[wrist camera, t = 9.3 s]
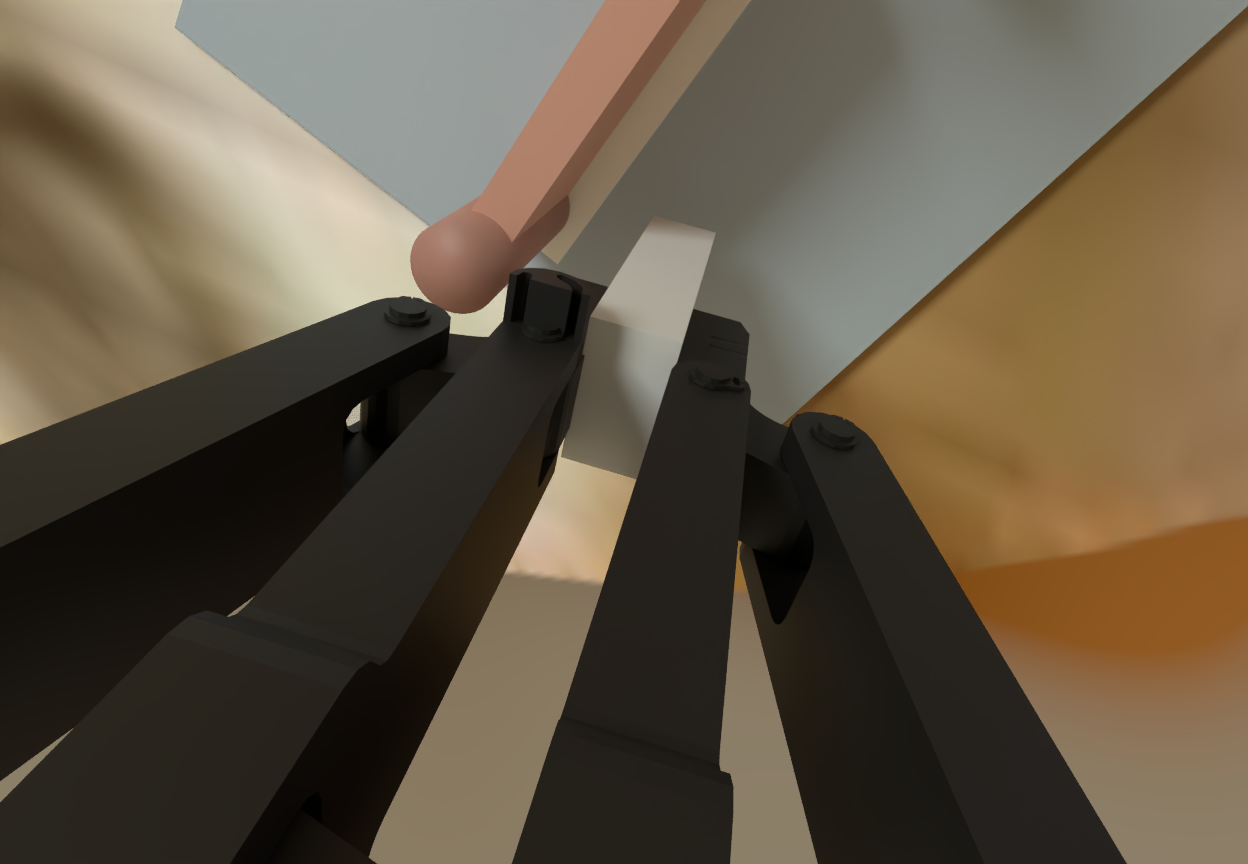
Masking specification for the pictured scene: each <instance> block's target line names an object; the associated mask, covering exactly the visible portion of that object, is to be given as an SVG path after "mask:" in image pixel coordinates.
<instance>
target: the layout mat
mask: <svg viewBox="0 0 1248 864" xmlns="http://www.w3.org/2000/svg"><path fill="white" fill-rule="evenodd" d="M604 1H605V0H183V1H182V5H181V8H180V11H179V15H178V18H177V21H176V25H175V28H176V29H177V30H178V31H180V32H181V33H182V34H184V35H185V36H186V37H187V38H189V39H190V40H191V41H193V42H194V43H195V44H196V45H198V46H199V47H200V48H202V49H203V50H204V51H205V52H207V53H208V54H209V55H211V56H212V57H213V58H214V59H216V60H217V61H218V62H220V63H221V64H222V65H223V66H225V67H226V68H227V69H229V70H230V71H231V72H232V73H234V74H235V75H236V76H238V77H239V78H240V79H241V80H243V81H244V82H245V83H247V84H248V85H249V86H250V87H252V88H253V89H254V90H256V91H257V92H258V93H259V94H261V95H262V96H263V97H265V98H266V99H267V100H268V101H270V102H271V103H272V104H274V105H275V106H276V107H277V108H279V109H280V110H281V111H283V112H284V113H285V114H286V115H288V116H289V117H290V118H292V119H293V120H294V121H296V122H297V123H298V124H299V125H301V126H302V127H303V128H305V129H306V130H307V131H308V132H310V133H311V134H312V135H314V136H315V137H316V138H317V139H319V140H320V141H321V142H323V143H324V144H325V145H326V146H328V147H329V148H330V149H332V150H333V151H334V152H335V153H337V154H338V155H339V156H341V157H342V158H343V159H344V160H346V161H347V162H348V163H350V164H351V165H352V166H353V167H355V168H356V169H357V170H359V171H360V172H361V173H362V174H364V175H365V176H366V177H368V178H369V179H370V180H371V181H373V182H374V183H375V184H377V185H378V186H379V187H380V188H382V189H383V190H384V191H386V192H387V193H388V194H389V195H391V196H392V197H393V198H395V199H396V200H397V201H398V202H400V203H401V204H402V205H404V206H405V207H406V208H407V209H409V210H410V211H411V212H413V213H414V214H415V215H416V216H418V217H419V218H420V219H422V220H423V221H424V222H425V223H427V224H428V225H429V226H432V225H433V224H435V223H436V222H438V221H440V220H441V219H443V218H445V217H446V216H448V215H449V214H451V213H453V212H454V211H456V210H458V209H459V208H461V207H462V206H464V205H466V204H467V203H469V202H471V201H472V200H474V199H475V198H477V197H479V196H480V195H482V193H483V191H484V190H485V188H486V187H487V185H488V184H489V182H490V180H491V179H492V177H493V176H494V174H495V173H496V171H497V169H498V168H499V166H500V165H501V163H502V162H503V160H504V158H505V157H506V155H507V154H508V152H509V151H510V149H511V147H512V146H513V144H514V143H515V141H516V140H517V138H518V136H519V135H520V133H521V132H522V130H523V129H524V127H525V125H526V124H527V122H528V121H529V119H530V118H531V116H532V114H533V113H534V111H535V110H536V108H537V107H538V105H539V103H540V102H541V100H542V99H543V97H544V96H545V94H546V92H547V91H548V89H549V88H550V86H551V85H552V83H553V81H554V80H555V78H556V77H557V75H558V74H559V72H560V70H561V69H562V67H563V66H564V64H565V63H566V61H567V59H568V58H569V56H570V55H571V53H572V52H573V50H574V48H575V47H576V45H577V44H578V42H579V41H580V39H581V37H582V36H583V34H584V33H585V31H586V30H587V28H588V26H589V25H590V23H591V22H592V20H593V19H594V17H595V15H596V14H597V12H598V11H599V9H600V8H601V6H602V4H603V3H604ZM1247 6H1248V0H706V2H705V3H704V4H703V6H702V7H701V9H700V10H699V11H698V13H697V14H696V16H695V17H694V18H693V20H692V21H691V23H690V24H689V25H688V27H687V28H686V30H685V31H684V32H683V34H682V35H681V37H680V38H679V39H678V41H677V42H676V44H675V45H674V46H673V48H672V49H671V51H670V52H669V53H668V55H667V56H666V58H665V59H664V60H663V62H662V63H661V65H660V66H659V67H658V69H657V70H656V72H655V73H654V74H653V76H652V77H651V79H650V80H649V81H648V83H647V84H646V86H645V87H644V88H643V90H642V91H641V93H640V94H639V95H638V97H637V98H636V100H635V101H634V102H633V104H632V105H631V107H630V108H629V109H628V111H627V112H626V114H625V115H624V116H623V118H622V119H621V121H620V122H619V123H618V125H617V126H616V128H615V129H614V131H613V132H612V133H611V135H610V136H609V138H608V139H607V140H606V142H605V143H604V145H603V146H602V147H601V149H600V150H599V152H598V153H597V154H596V156H595V157H594V159H593V160H592V161H591V163H590V164H589V166H588V167H587V168H586V170H585V171H584V173H583V174H582V175H581V177H580V178H579V180H578V181H577V182H576V184H575V185H574V187H573V188H572V189H571V191H570V192H569V194H568V197H569V202H570V213H569V217H568V220H567V223H566V224H565V226H564V228H563V229H562V230H561V231H560V232H559V233H558V234H557V235H556V236H555V237H554V238H553V239H552V240H551V241H550V242H549V243H548V244H547V245H546V246H545V247H544V248H543V249H542V250H541V251H540V252H539V253H538V254H537V255H536V256H535V257H534V258H533V259H532V260H531V261H530V262H529V263H528V264H527V265H526V266H525V267H524V268H545V269H550V270H555V271H560V272H563V273H566V274H568V275H571V276H574V277H576V278H579V279H582V280H586V281H590V282H593V283H597V284H600V285H604V286H607V287H609V286H610V284H611V283H612V281H613V280H614V278H615V276H616V275H617V273H618V272H619V270H620V269H621V267H622V265H623V264H624V262H625V261H626V259H627V258H628V256H629V254H630V253H631V251H632V250H633V248H634V247H635V245H636V243H637V242H638V240H639V239H640V237H641V236H642V234H643V232H644V231H645V229H646V228H647V226H648V225H649V223H650V221H651V220H652V218H653V217H654V216H658V217H661V218H665V219H668V220H672V221H676V222H679V223H683V224H687V225H690V226H694V227H697V228H701V229H705V230H708V231H712V232H715V233H716V234H715V238H714V241H713V244H712V248H711V251H710V255H709V258H708V262H707V265H706V269H705V272H704V275H703V279H702V282H701V286H700V289H699V293H698V296H697V299H696V303H695V306H694V309H696V310H699V311H703V312H707V313H710V314H714V315H717V316H721V317H724V318H728V319H731V320H735V321H738V322H741V323H742V325H743V326H744V328H745V329H746V330H747V332H748V333H749V335H750V336H749V346H748V355H747V366H746V376H745V380H746V381H747V382H748V383H749V386H750V389H751V399H750V404H751V405H752V406H753V407H754V408H755V409H756V410H758V411H759V412H760V413H762V414H763V415H764V416H766V417H768V418H770V419H772V420H774V421H775V422H778V423H780V424H783V423H784V422H785V421H786V420H788V419H789V418H790V417H791V416H792V415H793V414H794V413H795V412H796V411H798V410H799V409H800V408H801V407H802V406H803V405H804V404H805V403H806V402H808V401H809V400H810V399H811V398H812V397H813V396H814V395H815V394H817V393H818V392H819V391H820V390H821V389H822V388H823V387H824V386H825V385H827V384H828V383H829V382H830V381H831V380H832V379H833V378H834V377H835V376H837V375H838V374H839V373H840V372H841V371H842V370H843V369H844V368H845V367H847V366H848V365H849V364H850V363H851V362H852V361H853V360H854V359H855V358H857V357H858V356H859V355H860V354H861V353H862V352H863V351H864V350H865V349H867V348H868V347H869V346H870V345H871V344H872V343H873V342H874V341H875V340H877V339H878V338H879V337H880V336H881V335H882V334H883V333H884V332H885V331H887V330H888V329H889V328H890V327H891V326H892V325H893V324H894V323H896V322H897V321H898V320H899V319H900V318H901V317H902V316H903V315H904V314H906V313H907V312H908V311H909V310H910V309H911V308H912V307H913V306H914V305H916V304H917V303H918V302H919V301H920V300H921V299H922V298H923V297H924V296H926V295H927V294H928V293H929V292H930V291H931V290H932V289H933V288H934V287H936V286H937V285H938V284H939V283H940V282H941V281H942V280H943V279H944V278H946V277H947V276H948V275H949V274H950V273H951V272H952V271H953V270H954V269H956V268H957V267H958V266H959V265H960V264H961V263H962V262H963V261H964V260H966V259H967V258H968V257H969V256H970V255H971V254H972V253H973V252H975V251H976V250H977V249H978V248H979V247H980V246H981V245H982V244H983V243H985V242H986V241H987V240H988V239H989V238H990V237H991V236H992V235H993V234H995V233H996V232H997V231H998V230H999V229H1000V228H1001V227H1002V226H1003V225H1005V224H1006V223H1007V222H1008V221H1009V220H1010V219H1011V218H1012V217H1013V216H1015V215H1016V214H1017V213H1018V212H1019V211H1020V210H1021V209H1022V208H1023V207H1025V206H1026V205H1027V204H1028V203H1029V202H1030V201H1031V200H1032V199H1033V198H1035V197H1036V196H1037V195H1038V194H1039V193H1040V192H1041V191H1042V190H1043V189H1045V188H1046V187H1047V186H1048V185H1049V184H1050V183H1051V182H1052V181H1054V180H1055V179H1056V178H1057V177H1058V176H1059V175H1060V174H1061V173H1062V172H1064V171H1065V170H1066V169H1067V168H1068V167H1069V166H1070V165H1071V164H1072V163H1074V162H1075V161H1076V160H1077V159H1078V158H1079V157H1080V156H1081V155H1082V154H1084V153H1085V152H1086V151H1087V150H1088V149H1089V148H1090V147H1091V146H1092V145H1094V144H1095V143H1096V142H1097V141H1098V140H1099V139H1100V138H1101V137H1102V136H1104V135H1105V134H1106V133H1107V132H1108V131H1109V130H1110V129H1111V128H1112V127H1114V126H1115V125H1116V124H1117V123H1118V122H1119V121H1120V120H1121V119H1122V118H1124V117H1125V116H1126V115H1127V114H1128V113H1129V112H1130V111H1131V110H1133V109H1134V108H1135V107H1136V106H1137V105H1138V104H1139V103H1140V102H1141V101H1143V100H1144V99H1145V98H1146V97H1147V96H1148V95H1149V94H1150V93H1151V92H1153V91H1154V90H1155V89H1156V88H1157V87H1158V86H1159V85H1160V84H1161V83H1163V82H1164V81H1165V80H1166V79H1167V78H1168V77H1169V76H1170V75H1171V74H1173V73H1174V72H1175V71H1176V70H1177V69H1178V68H1179V67H1180V66H1181V65H1183V64H1184V63H1185V62H1186V61H1187V60H1188V59H1189V58H1190V57H1191V56H1193V55H1194V54H1195V53H1196V52H1197V51H1198V50H1199V49H1200V48H1201V47H1203V46H1204V45H1205V44H1206V43H1207V42H1208V41H1209V40H1210V39H1212V38H1213V37H1214V36H1215V35H1216V34H1217V33H1218V32H1219V31H1220V30H1222V29H1223V28H1224V27H1225V26H1226V25H1227V24H1228V23H1229V22H1230V21H1232V20H1233V19H1234V18H1235V17H1236V16H1237V15H1238V14H1239V13H1240V12H1242V11H1243V10H1244V9H1245V8H1246V7H1247ZM524 268H523V269H524ZM506 286H508V284H507V285H506Z"/></svg>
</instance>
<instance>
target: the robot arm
mask: <svg viewBox="0 0 1248 864" xmlns="http://www.w3.org/2000/svg"><path fill="white" fill-rule="evenodd" d="M715 234H716V233H715V232H712V231H708V230H705V229H701V228H697V227H694V226H690V225H687V224H683V223H679V222H676V221H672V220H668V219H665V218H661V217H658V216H654V217H653V218H652V220H651V221H650V223H649V225H648V226H647V228H646V229H645V231H644V232H643V234H642V236H641V237H640V239H639V240H638V242H637V243H636V245H635V247H634V248H633V250H632V251H631V253H630V254H629V256H628V258H627V259H626V261H625V262H624V264H623V265H622V267H621V269H620V270H619V272H618V273H617V275H616V276H615V278H614V280H613V281H612V283H611V284H610V286H609V287H607V286H604V285H600V284H597V283H593V282H590V281H586V280H582V279H579V278H576V277H574V276H571V275H568V274H566V273H563V272H560V271H555V270H550V269H545V268H524V269H517V270H515V271H513V272H511V273H510V274H509V281H508V289H507V296H506V303H505V311H504V318H503V322H502V323H501V324H500V325H499V326H498V327H497V328H496V329H495V330H494V332H493V333H492V334H491V335H490V336H489V337H476V336H466V335H458V334H450V333H449V331H450V320H451V317H450V316H449V315H448V313H447V312H446V311H445V310H444V309H442V308H440V307H438V306H437V305H435V304H432V303H429V302H426V301H424V300H422V299H420V298H415V297H413V299H411V297H407V296H401V297H399V298H385V299H380V300H376V301H372V302H370V303H367V304H365V305H362V306H359V307H357V308H354V309H352V310H349V311H347V312H344V313H341V314H339V315H336V316H334V317H331V318H328V319H326V320H323V321H321V322H318V323H315V324H313V325H310V326H308V327H305V328H302V329H300V330H297V331H295V332H292V333H289V334H287V335H284V336H282V337H279V338H276V339H274V340H271V341H269V342H266V343H264V344H261V345H258V346H256V347H253V348H251V349H248V350H245V351H243V352H240V353H238V354H235V355H232V356H230V357H227V358H225V359H222V360H219V361H217V362H214V363H212V364H209V365H206V366H204V367H201V368H199V369H196V370H193V371H191V372H188V373H186V374H183V375H181V376H178V377H175V378H173V379H170V380H168V381H165V382H162V383H160V384H157V385H155V386H152V387H149V388H147V389H144V390H142V391H139V392H136V393H134V394H131V395H129V396H126V397H123V398H121V399H118V400H116V401H113V402H110V403H108V404H105V405H103V406H100V407H98V408H95V409H92V410H90V411H87V412H85V413H82V414H79V415H77V416H74V417H72V418H69V419H66V420H64V421H61V422H59V423H56V424H53V425H51V426H48V427H46V428H43V429H40V430H38V431H35V432H33V433H30V434H28V435H25V436H22V437H20V438H17V439H15V440H12V441H9V442H7V443H4V444H2V445H0V781H1V780H2V779H4V778H5V777H6V776H8V775H9V774H10V773H12V772H13V771H15V770H16V769H17V768H19V767H20V766H21V765H23V764H24V763H26V762H27V761H28V760H30V759H31V758H33V757H34V756H35V755H37V754H38V753H39V752H41V751H42V750H44V749H45V748H46V747H48V746H49V745H50V744H52V743H53V742H54V741H56V740H57V739H59V738H60V737H61V736H63V735H64V734H66V733H67V732H68V731H70V730H71V729H72V728H73V730H72V731H70V733H69V734H68V735H67V736H66V737H65V738H64V739H63V740H62V741H61V742H60V743H59V744H58V745H57V746H56V747H55V748H54V749H53V750H52V751H51V752H50V753H49V754H48V755H47V756H46V757H45V758H44V759H43V760H42V761H41V762H40V763H39V764H38V765H37V766H36V767H35V768H34V769H33V770H32V771H31V772H30V773H29V774H28V775H27V776H26V777H25V778H24V779H23V780H22V781H21V782H20V783H19V784H18V785H17V786H16V787H15V788H14V789H13V790H12V791H11V792H10V793H9V794H8V795H7V796H6V797H5V798H4V799H3V800H2V801H1V802H0V864H376V863H375V862H374V861H372V860H371V859H370V858H369V855H370V851H371V848H372V845H373V842H374V840H375V837H376V835H377V832H378V830H379V828H380V825H381V823H382V821H383V819H384V817H385V814H386V813H387V811H388V809H389V806H390V805H391V802H392V801H393V798H394V796H395V794H396V792H397V790H398V788H399V786H400V784H401V782H402V780H403V778H404V776H405V774H406V772H407V770H408V768H409V766H410V764H411V762H412V760H413V758H414V756H415V754H416V751H417V750H418V748H419V745H420V744H421V742H422V740H423V738H424V736H425V733H426V731H427V729H428V727H429V725H430V723H431V721H432V719H433V717H434V715H435V713H436V711H437V709H438V707H439V705H440V703H441V701H442V699H443V697H444V695H445V693H446V691H447V689H448V687H449V685H450V682H451V681H452V679H453V677H454V675H455V672H456V670H457V668H458V666H459V664H460V662H461V660H462V658H463V656H464V654H465V652H466V650H467V648H468V646H469V644H470V642H471V640H472V638H473V636H474V634H475V632H476V630H477V628H478V626H479V623H480V622H481V620H482V618H483V616H484V614H485V612H486V610H487V607H488V606H489V603H490V601H491V599H492V597H493V595H494V593H495V591H496V589H497V587H498V585H499V583H500V581H501V579H502V577H503V575H504V573H505V571H506V569H507V567H508V565H509V563H510V561H511V559H512V557H513V555H514V553H515V551H516V549H517V547H518V545H519V543H520V541H521V538H522V536H523V534H524V532H525V530H526V528H527V526H528V524H529V522H530V520H531V518H532V516H533V514H534V512H535V510H536V508H537V506H538V504H539V502H540V500H541V498H542V496H543V494H544V492H545V490H546V488H547V486H548V484H549V482H550V480H551V478H552V476H553V473H554V471H555V466H556V461H557V456H558V451H559V447H560V445H561V444H562V442H563V440H564V438H565V440H564V445H563V450H562V455H561V457H563V458H567V459H570V460H573V461H577V462H580V463H584V464H587V465H590V466H594V467H597V468H601V469H604V470H607V471H611V472H614V473H617V474H621V475H624V476H628V477H631V478H634V479H637V480H636V483H635V486H634V489H633V492H632V495H631V499H630V502H629V505H628V508H627V511H626V514H625V517H624V521H623V524H622V527H621V530H620V533H619V536H618V539H617V543H616V546H615V549H614V552H613V555H612V558H611V562H610V565H609V568H608V571H607V574H606V577H605V580H604V584H603V587H602V590H601V593H600V596H599V599H598V602H597V606H596V609H595V612H594V615H593V618H592V621H591V625H590V628H589V631H588V634H587V637H586V640H585V643H584V646H583V650H582V653H581V656H580V659H579V662H578V665H577V668H576V672H575V675H574V678H573V681H572V684H571V687H570V691H569V694H568V697H567V700H566V703H565V706H564V709H563V712H562V715H561V718H560V720H558V723H557V726H556V729H555V732H554V735H553V738H552V741H551V744H550V747H549V750H548V753H547V756H546V759H545V762H544V766H543V768H542V772H541V775H540V778H539V781H538V784H537V787H536V790H535V793H534V797H533V800H532V803H531V806H530V809H529V812H528V815H527V818H526V822H525V825H524V828H523V831H522V834H521V837H520V840H519V843H518V846H517V850H516V853H515V856H514V859H513V862H512V864H730V855H731V840H732V824H733V784H732V780H731V776H730V774H729V773H726V772H722V771H721V770H720V766H719V755H720V741H721V730H722V717H723V706H724V695H725V684H726V673H727V660H728V650H729V639H730V627H731V616H732V604H733V593H734V581H735V570H736V559H737V547H738V540H739V541H741V542H742V544H741V546H740V561H741V565H742V569H743V573H744V577H745V581H746V585H747V589H748V593H749V596H750V600H751V604H752V608H753V612H754V616H755V620H756V624H757V628H758V631H759V635H760V639H761V643H762V647H763V651H764V655H765V658H766V663H767V667H768V670H769V675H770V678H771V682H772V686H773V690H774V694H775V698H776V702H777V706H778V709H779V713H780V718H781V721H782V725H783V729H784V733H785V737H786V741H787V745H788V748H789V753H790V756H791V761H792V764H793V768H794V772H795V776H796V780H797V784H798V788H799V792H800V796H801V800H802V804H803V807H804V811H805V815H806V819H807V823H808V827H809V831H810V834H811V839H812V842H813V846H814V850H815V854H816V858H817V862H818V864H1127V863H1126V862H1125V860H1124V858H1123V857H1122V855H1121V853H1120V852H1119V850H1118V849H1117V847H1116V845H1115V843H1114V842H1113V840H1112V839H1111V837H1110V835H1109V833H1108V832H1107V830H1106V828H1105V827H1104V825H1103V823H1102V822H1101V820H1100V818H1099V817H1098V815H1097V814H1096V812H1095V810H1094V808H1093V807H1092V805H1091V803H1090V802H1089V800H1088V799H1087V797H1086V795H1085V793H1084V792H1083V790H1082V788H1081V787H1080V785H1079V783H1078V782H1077V780H1076V778H1075V777H1074V775H1073V773H1072V772H1071V770H1070V768H1069V767H1068V765H1067V763H1066V762H1065V760H1064V758H1063V757H1062V755H1061V753H1060V752H1059V750H1058V748H1057V747H1056V745H1055V743H1054V742H1053V740H1052V738H1051V737H1050V735H1049V733H1048V732H1047V730H1046V728H1045V727H1044V725H1043V723H1042V722H1041V720H1040V718H1039V717H1038V715H1037V713H1036V712H1035V710H1034V708H1033V707H1032V705H1031V703H1030V702H1029V700H1028V699H1027V697H1026V695H1025V694H1024V692H1023V690H1022V688H1021V687H1020V685H1019V683H1018V682H1017V680H1016V678H1015V677H1014V675H1013V673H1012V672H1011V670H1010V668H1009V667H1008V665H1007V663H1006V662H1005V660H1004V658H1003V657H1002V655H1001V653H1000V652H999V650H998V648H997V647H996V645H995V643H994V641H993V640H992V638H991V637H990V635H989V633H988V631H987V630H986V628H985V626H984V625H983V623H982V621H981V620H980V618H979V617H978V615H977V613H976V612H975V610H974V608H973V606H972V605H971V603H970V601H969V600H968V598H967V597H966V595H965V593H964V591H963V590H962V588H961V586H960V585H959V583H958V582H957V580H956V578H955V576H954V575H953V573H952V571H951V570H950V568H949V566H948V565H947V563H946V561H945V560H944V558H943V556H942V555H941V553H940V551H939V550H938V548H937V546H936V545H935V543H934V541H933V540H932V538H931V536H930V535H929V533H928V531H927V530H926V528H925V526H924V525H923V523H922V521H921V520H920V518H919V516H918V515H917V513H916V511H915V510H914V508H913V506H912V505H911V503H910V501H909V500H908V498H907V496H906V495H905V493H904V491H903V490H902V488H901V486H900V485H899V483H898V481H897V480H896V478H895V476H894V475H893V473H892V471H891V470H890V468H889V466H888V465H887V463H886V461H885V460H884V458H883V456H882V455H881V453H880V451H879V450H878V448H877V446H876V445H875V443H874V442H873V441H872V439H871V438H870V437H869V436H868V435H867V434H866V433H865V432H864V431H862V430H861V429H859V428H858V427H856V426H855V425H854V423H852V422H850V421H848V420H846V419H845V420H843V418H842V417H839V416H836V415H828V414H824V413H816V412H806V413H802V414H798V415H796V416H795V418H794V419H793V420H792V421H791V424H790V426H789V428H788V427H786V426H784V425H782V424H780V423H778V422H775V421H774V420H772V419H770V418H768V417H766V416H764V415H763V414H762V413H760V412H759V411H758V410H756V409H755V408H754V407H753V406H752V405H751V404H750V399H751V389H750V386H749V383H748V382H747V381H746V380H745V376H746V366H747V355H748V346H749V336H750V335H749V333H748V332H747V330H746V329H745V328H744V326H743V325H742V323H741V322H738V321H735V320H731V319H728V318H724V317H721V316H717V315H714V314H710V313H707V312H703V311H699V310H696V309H694V306H695V303H696V299H697V296H698V293H699V289H700V286H701V282H702V279H703V275H704V272H705V269H706V265H707V262H708V258H709V255H710V251H711V248H712V244H713V241H714V238H715ZM360 402H361V406H360V421H358V422H356V423H354V424H353V425H351V426H347V424H346V419H347V418H348V416H349V414H350V413H351V411H352V409H353V408H355V407H356V406H357V405H358V404H359V403H360ZM254 596H255V597H254ZM252 597H254V598H253V599H252V600H251V601H250V602H249V603H248V604H247V605H246V606H245V607H244V608H243V609H242V610H241V611H239V612H238V613H237V614H235V615H233V616H230V617H227V616H228V615H229V614H230V613H232V612H233V611H234V610H236V609H237V608H239V607H240V606H241V605H243V604H244V603H245V602H247V601H248V600H249V599H251V598H252Z"/></svg>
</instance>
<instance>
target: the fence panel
mask: <svg viewBox="0 0 1248 864" xmlns="http://www.w3.org/2000/svg"><path fill="white" fill-rule="evenodd" d="M705 2H706V0H605V1H604V3H603V4H602V6H601V8H600V9H599V11H598V12H597V14H596V15H595V17H594V19H593V20H592V22H591V23H590V25H589V26H588V28H587V30H586V31H585V33H584V34H583V36H582V37H581V39H580V41H579V42H578V44H577V45H576V47H575V48H574V50H573V52H572V53H571V55H570V56H569V58H568V59H567V61H566V63H565V64H564V66H563V67H562V69H561V70H560V72H559V74H558V75H557V77H556V78H555V80H554V81H553V83H552V85H551V86H550V88H549V89H548V91H547V92H546V94H545V96H544V97H543V99H542V100H541V102H540V103H539V105H538V107H537V108H536V110H535V111H534V113H533V114H532V116H531V118H530V119H529V121H528V122H527V124H526V125H525V127H524V129H523V130H522V132H521V133H520V135H519V136H518V138H517V140H516V141H515V143H514V144H513V146H512V147H511V149H510V151H509V152H508V154H507V155H506V157H505V158H504V160H503V162H502V163H501V165H500V166H499V168H498V169H497V171H496V173H495V174H494V176H493V177H492V179H491V180H490V182H489V184H488V185H487V187H486V188H485V190H484V191H483V193H482V195H480V196H479V197H477V198H475V199H474V200H472V201H471V202H469V203H467V204H466V205H464V206H462V207H461V208H459V209H458V210H456V211H454V212H453V213H451V214H449V215H448V216H446V217H445V218H443V219H441V220H440V221H438V222H436V223H435V224H433V225H432V226H430V227H428V228H427V229H425V230H424V231H423V232H422V233H421V234H420V235H419V236H418V237H417V239H416V240H415V242H414V244H413V247H412V251H411V259H410V262H411V270H412V274H413V277H414V279H415V281H416V284H417V285H418V287H419V289H420V290H421V291H422V293H423V294H424V295H425V296H426V297H427V298H428V299H429V300H430V301H431V302H432V303H434V304H435V305H437V306H438V307H440V308H442V309H444V310H446V311H449V312H453V313H459V314H466V313H472V312H476V311H478V310H480V309H482V308H483V307H485V306H486V305H487V304H488V303H489V302H490V301H491V300H492V299H493V298H494V297H495V296H496V295H497V294H498V293H499V292H500V291H501V290H502V289H503V288H504V287H505V286H506V285H507V284H508V281H509V274H510V273H511V272H513V271H515V270H517V269H523V268H524V267H525V266H526V265H527V264H528V263H529V262H530V261H531V260H532V259H533V258H534V257H535V256H536V255H537V254H538V253H539V252H540V251H541V250H542V249H543V248H544V247H545V246H546V245H547V244H548V243H549V242H550V241H551V240H552V239H553V238H554V237H555V236H556V235H557V234H558V233H559V232H560V231H561V230H562V229H563V228H564V226H565V224H566V223H567V220H568V217H569V213H570V202H569V197H568V194H569V192H570V191H571V189H572V188H573V187H574V185H575V184H576V182H577V181H578V180H579V178H580V177H581V175H582V174H583V173H584V171H585V170H586V168H587V167H588V166H589V164H590V163H591V161H592V160H593V159H594V157H595V156H596V154H597V153H598V152H599V150H600V149H601V147H602V146H603V145H604V143H605V142H606V140H607V139H608V138H609V136H610V135H611V133H612V132H613V131H614V129H615V128H616V126H617V125H618V123H619V122H620V121H621V119H622V118H623V116H624V115H625V114H626V112H627V111H628V109H629V108H630V107H631V105H632V104H633V102H634V101H635V100H636V98H637V97H638V95H639V94H640V93H641V91H642V90H643V88H644V87H645V86H646V84H647V83H648V81H649V80H650V79H651V77H652V76H653V74H654V73H655V72H656V70H657V69H658V67H659V66H660V65H661V63H662V62H663V60H664V59H665V58H666V56H667V55H668V53H669V52H670V51H671V49H672V48H673V46H674V45H675V44H676V42H677V41H678V39H679V38H680V37H681V35H682V34H683V32H684V31H685V30H686V28H687V27H688V25H689V24H690V23H691V21H692V20H693V18H694V17H695V16H696V14H697V13H698V11H699V10H700V9H701V7H702V6H703V4H704V3H705Z"/></svg>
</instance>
